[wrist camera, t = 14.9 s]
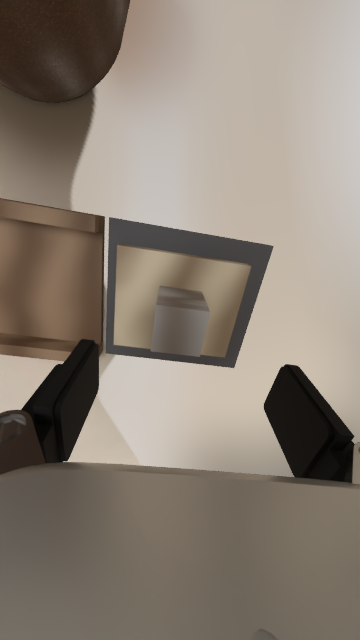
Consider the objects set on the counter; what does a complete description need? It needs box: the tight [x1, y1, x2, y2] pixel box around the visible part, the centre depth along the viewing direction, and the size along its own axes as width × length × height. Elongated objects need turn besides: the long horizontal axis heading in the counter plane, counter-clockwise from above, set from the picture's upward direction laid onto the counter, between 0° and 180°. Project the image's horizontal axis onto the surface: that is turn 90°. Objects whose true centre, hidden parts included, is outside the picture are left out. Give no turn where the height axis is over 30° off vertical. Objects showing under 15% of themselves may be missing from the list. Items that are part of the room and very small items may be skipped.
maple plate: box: [114, 244, 251, 358], centre depth 19 cm, size 12×10×6 cm
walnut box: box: [0, 198, 105, 361], centre depth 20 cm, size 14×14×3 cm
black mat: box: [106, 218, 273, 368], centre depth 22 cm, size 15×14×1 cm
